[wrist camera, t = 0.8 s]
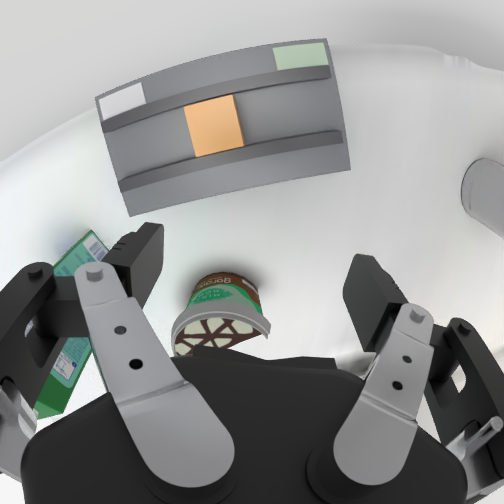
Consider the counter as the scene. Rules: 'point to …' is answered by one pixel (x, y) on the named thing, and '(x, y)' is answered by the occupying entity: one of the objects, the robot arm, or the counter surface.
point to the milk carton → (75, 348)
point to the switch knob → (214, 125)
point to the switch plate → (251, 117)
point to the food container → (219, 314)
